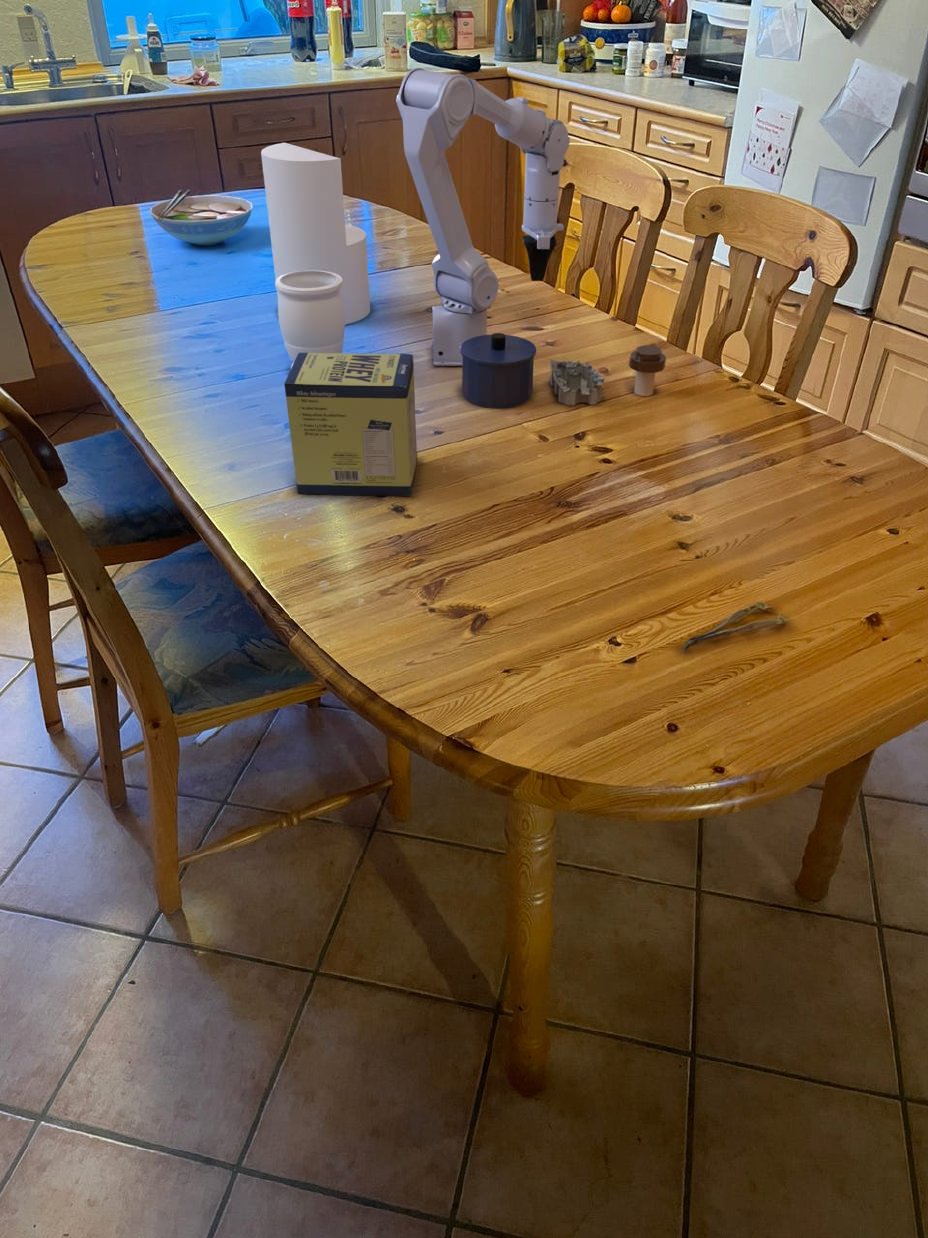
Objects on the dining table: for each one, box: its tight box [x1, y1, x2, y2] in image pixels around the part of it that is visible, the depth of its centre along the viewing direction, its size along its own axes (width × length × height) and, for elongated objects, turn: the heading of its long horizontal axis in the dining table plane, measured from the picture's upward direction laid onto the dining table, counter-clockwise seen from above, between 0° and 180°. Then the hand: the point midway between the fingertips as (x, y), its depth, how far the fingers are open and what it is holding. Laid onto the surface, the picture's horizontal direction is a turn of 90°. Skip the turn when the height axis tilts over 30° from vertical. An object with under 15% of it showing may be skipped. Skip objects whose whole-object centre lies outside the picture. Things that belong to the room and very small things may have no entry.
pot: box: [461, 356, 535, 409], centre depth 149 cm, size 11×11×7 cm
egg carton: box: [550, 359, 605, 407], centre depth 151 cm, size 11×8×4 cm
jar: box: [274, 270, 346, 369], centre depth 154 cm, size 11×10×15 cm
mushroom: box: [628, 345, 667, 397], centre depth 150 cm, size 6×6×7 cm
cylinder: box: [260, 142, 371, 325], centre depth 173 cm, size 17×17×28 cm
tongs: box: [682, 601, 788, 652], centre depth 101 cm, size 4×13×2 cm, turn 123°
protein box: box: [283, 352, 418, 497], centre depth 124 cm, size 10×16×16 cm
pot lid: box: [460, 332, 537, 366], centre depth 146 cm, size 12×12×3 cm
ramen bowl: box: [149, 189, 253, 247], centre depth 215 cm, size 25×23×8 cm
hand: (537, 279), depth 167 cm, fingers closed
